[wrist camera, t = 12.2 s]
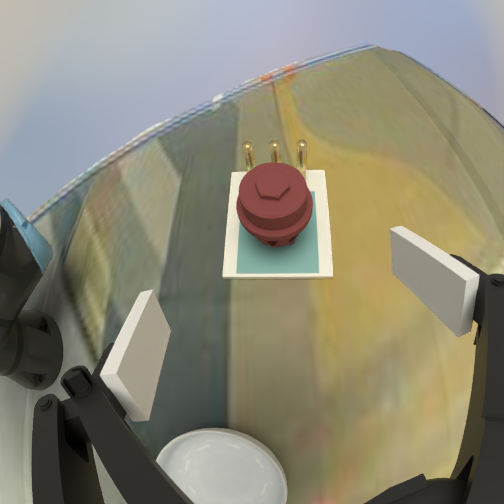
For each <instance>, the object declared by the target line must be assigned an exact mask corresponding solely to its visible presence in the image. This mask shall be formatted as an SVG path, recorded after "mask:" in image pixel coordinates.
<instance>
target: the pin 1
mask: <svg viewBox="0 0 504 504" xmlns="http://www.w3.org/2000/svg"><path fill="white" fill-rule="evenodd" d="M242 146H243V151H244V155H245V160H246V165H247V169H248V172H249V171H250V170H251V169H253V168H254V167H256V164H255V159H254V153H253V148H252V143H251V142H249V141H246V142H244V143H243V144H242Z"/></svg>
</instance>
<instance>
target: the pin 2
mask: <svg viewBox="0 0 504 504" xmlns="http://www.w3.org/2000/svg"><path fill="white" fill-rule="evenodd" d="M270 150H271V159H272V162H278V163H281V157H280V144H279V141H277V140H273V141H271V142H270Z"/></svg>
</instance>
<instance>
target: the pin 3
mask: <svg viewBox="0 0 504 504" xmlns="http://www.w3.org/2000/svg"><path fill="white" fill-rule="evenodd" d="M297 159H298V171H299V172H300V173H301V174H302V175H303V177H304V179H305V181H306V162H307V142H306V141H305V140H299V141H298V142H297Z"/></svg>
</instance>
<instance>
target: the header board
mask: <svg viewBox="0 0 504 504" xmlns="http://www.w3.org/2000/svg"><path fill="white" fill-rule="evenodd" d="M246 173H247V172H232V176H231V186H230V197H229V207H228V218H227V230H226V241H225V253H224V265H223V278H224V279H329V278H333V266H332V250H331V235H330V222H329V211H328V200H327V190H326V181H325V172H324V170H306V183H307V187H308V189H309V190H310V192H311V195H312V199H313V210H312V216H311V219H310V221H309V223H308V224H307V226H306V227H305V228H304V230H302V231H301V232H300V233H299V234H298V236H297V238H296V239H295V242H294V244H292V245H285V246H282V247H271V246H267V245H265V244H263V243H262V242H261V241H259V240H258V239H257V237H255V236H253V235H251V234H250V233H249V232H247V231H246V230H245V229H244V227H243V226H242V224H241V222H240V220H239V217H238V214H237V210H236V202H237V197H238V195H239V185H240V182H241V180H242V179H243V177H244V176H245V174H246Z"/></svg>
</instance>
